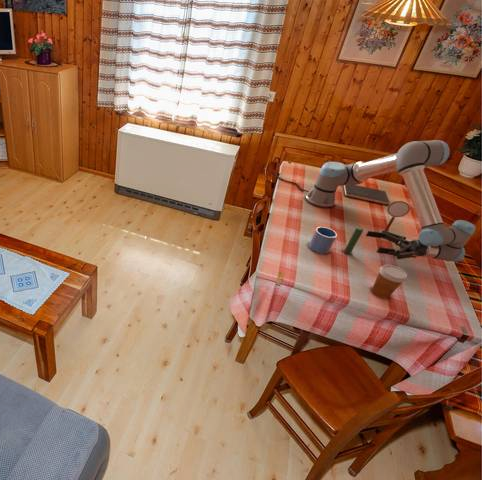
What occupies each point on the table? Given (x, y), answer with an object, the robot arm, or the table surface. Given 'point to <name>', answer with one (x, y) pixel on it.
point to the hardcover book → (366, 194)
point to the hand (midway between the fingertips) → (372, 241)
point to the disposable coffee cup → (388, 280)
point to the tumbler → (322, 240)
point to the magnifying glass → (397, 211)
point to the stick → (353, 240)
